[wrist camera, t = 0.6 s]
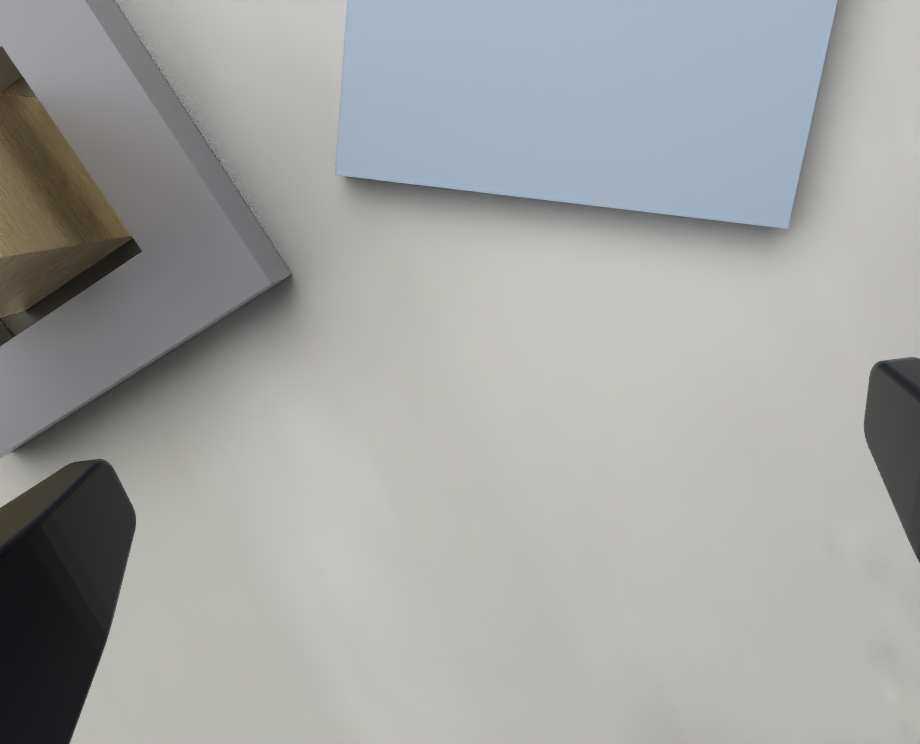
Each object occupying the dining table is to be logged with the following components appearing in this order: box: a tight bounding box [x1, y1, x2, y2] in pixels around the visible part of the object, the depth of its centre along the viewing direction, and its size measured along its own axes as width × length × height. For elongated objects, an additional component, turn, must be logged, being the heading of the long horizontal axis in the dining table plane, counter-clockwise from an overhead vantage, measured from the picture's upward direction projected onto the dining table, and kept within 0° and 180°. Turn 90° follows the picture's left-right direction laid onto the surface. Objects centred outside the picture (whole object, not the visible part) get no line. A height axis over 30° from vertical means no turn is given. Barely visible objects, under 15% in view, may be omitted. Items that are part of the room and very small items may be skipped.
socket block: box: [0, 0, 292, 458], centre depth 22 cm, size 11×11×2 cm
